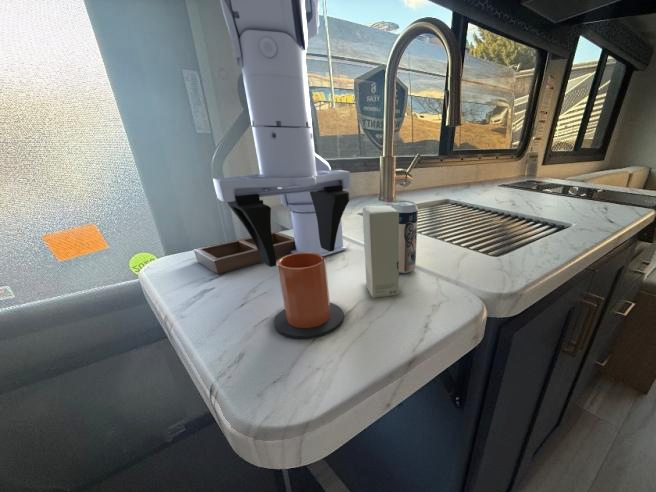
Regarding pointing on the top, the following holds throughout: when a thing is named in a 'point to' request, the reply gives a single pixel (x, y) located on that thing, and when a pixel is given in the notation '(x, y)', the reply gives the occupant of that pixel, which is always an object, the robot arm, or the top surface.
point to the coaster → (313, 332)
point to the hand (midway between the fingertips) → (300, 256)
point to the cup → (304, 289)
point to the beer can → (407, 234)
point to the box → (381, 250)
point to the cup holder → (240, 253)
